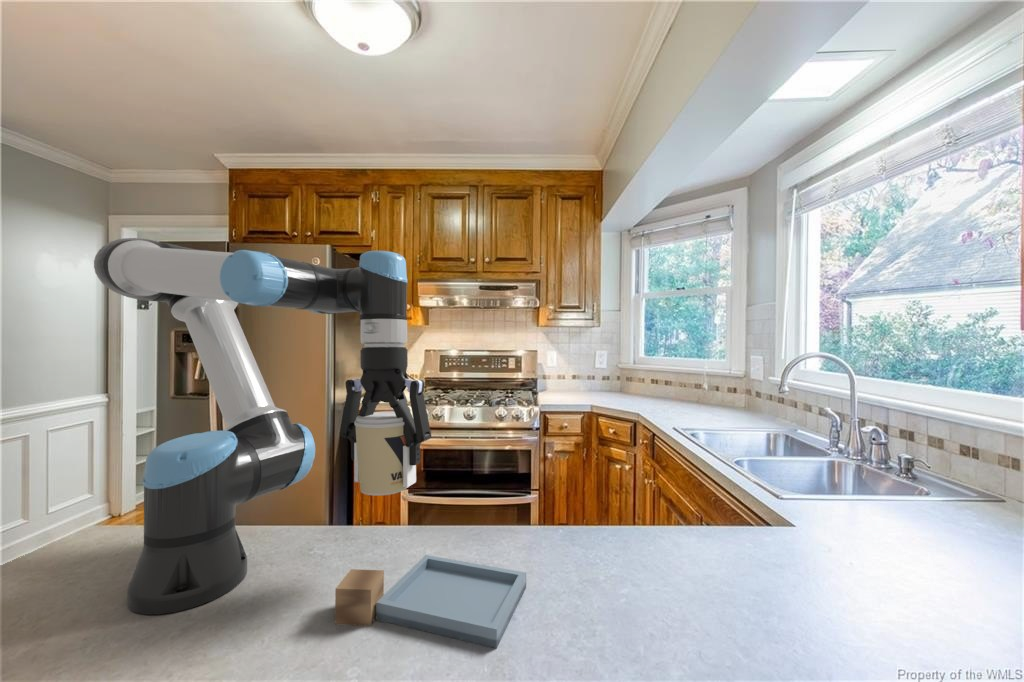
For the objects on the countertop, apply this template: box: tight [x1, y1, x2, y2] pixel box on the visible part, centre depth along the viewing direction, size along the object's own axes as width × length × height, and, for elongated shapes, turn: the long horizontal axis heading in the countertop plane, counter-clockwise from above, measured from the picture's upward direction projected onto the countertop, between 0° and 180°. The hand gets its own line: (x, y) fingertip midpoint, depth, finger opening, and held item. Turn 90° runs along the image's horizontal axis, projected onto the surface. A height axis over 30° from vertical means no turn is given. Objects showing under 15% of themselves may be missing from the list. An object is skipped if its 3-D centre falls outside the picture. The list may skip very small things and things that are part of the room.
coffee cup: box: [354, 410, 408, 496], centre depth 70 cm, size 9×9×12 cm
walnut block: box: [334, 568, 385, 627], centre depth 61 cm, size 5×5×5 cm
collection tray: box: [375, 554, 527, 649], centre depth 63 cm, size 18×14×2 cm
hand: (385, 481), depth 70 cm, fingers closed on coffee cup, 9 cm apart
